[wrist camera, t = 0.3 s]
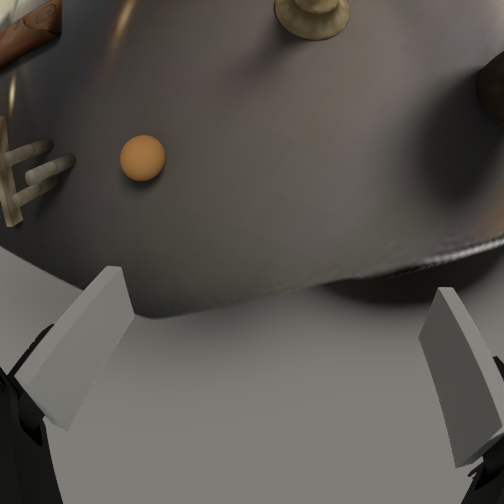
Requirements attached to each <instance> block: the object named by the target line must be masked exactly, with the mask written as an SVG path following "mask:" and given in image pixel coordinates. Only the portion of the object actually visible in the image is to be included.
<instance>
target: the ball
mask: <svg viewBox="0 0 504 504" xmlns="http://www.w3.org/2000/svg"><path fill="white" fill-rule="evenodd" d="M164 162H165V151H164V148H163V146H162V145H161V143H160V142H159V141H158V140H157V139H155V138H154V137H151V136H147V135H140V136H136V137H134V138H132V139H130V140H129V141H128V142H127V143H126V144H125V145H124V147H123V148H122V151H121V154H120V165H121V168H122V170H123V172H124V173H125V174H126V175H127V176H128V177H129V178H131V179H133V180H137V181H146V180H149V179H152V178H153V177H155V176H156V175H157V174H158V173H159V172H160V171H161V169H162V168H163V165H164Z"/></svg>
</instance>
